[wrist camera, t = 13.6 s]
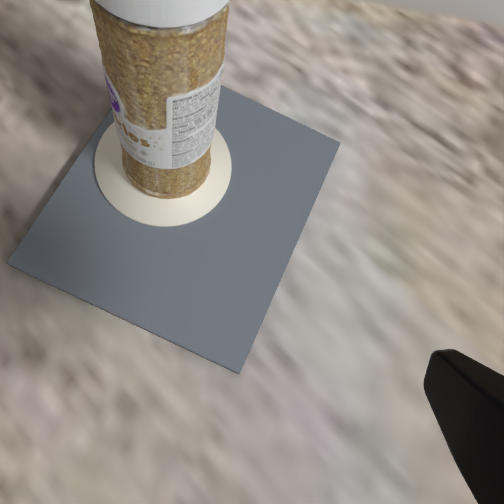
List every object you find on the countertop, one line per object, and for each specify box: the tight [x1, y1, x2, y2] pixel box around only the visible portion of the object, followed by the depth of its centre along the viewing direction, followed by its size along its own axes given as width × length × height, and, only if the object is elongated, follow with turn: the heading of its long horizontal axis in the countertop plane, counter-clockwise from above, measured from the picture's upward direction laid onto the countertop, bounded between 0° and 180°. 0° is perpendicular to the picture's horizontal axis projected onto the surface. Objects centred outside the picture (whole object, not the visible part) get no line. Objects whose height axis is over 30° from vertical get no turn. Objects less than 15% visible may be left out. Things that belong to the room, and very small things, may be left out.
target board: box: [7, 85, 340, 374], centre depth 24 cm, size 14×12×1 cm
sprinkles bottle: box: [90, 0, 231, 199], centre depth 17 cm, size 5×5×14 cm
